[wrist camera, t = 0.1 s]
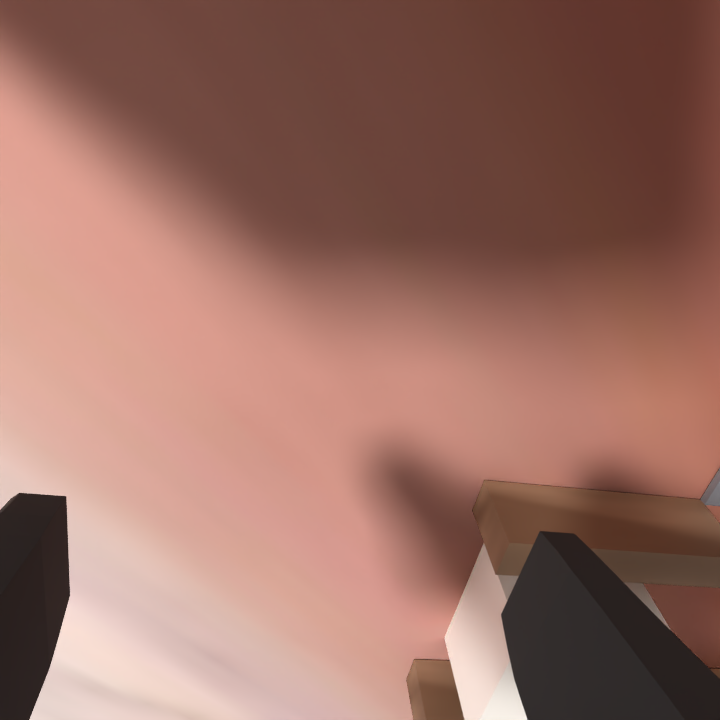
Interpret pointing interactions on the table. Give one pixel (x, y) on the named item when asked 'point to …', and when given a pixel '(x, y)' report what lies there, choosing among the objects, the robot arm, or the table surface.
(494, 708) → the block
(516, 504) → the trap lane
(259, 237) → the table surface
